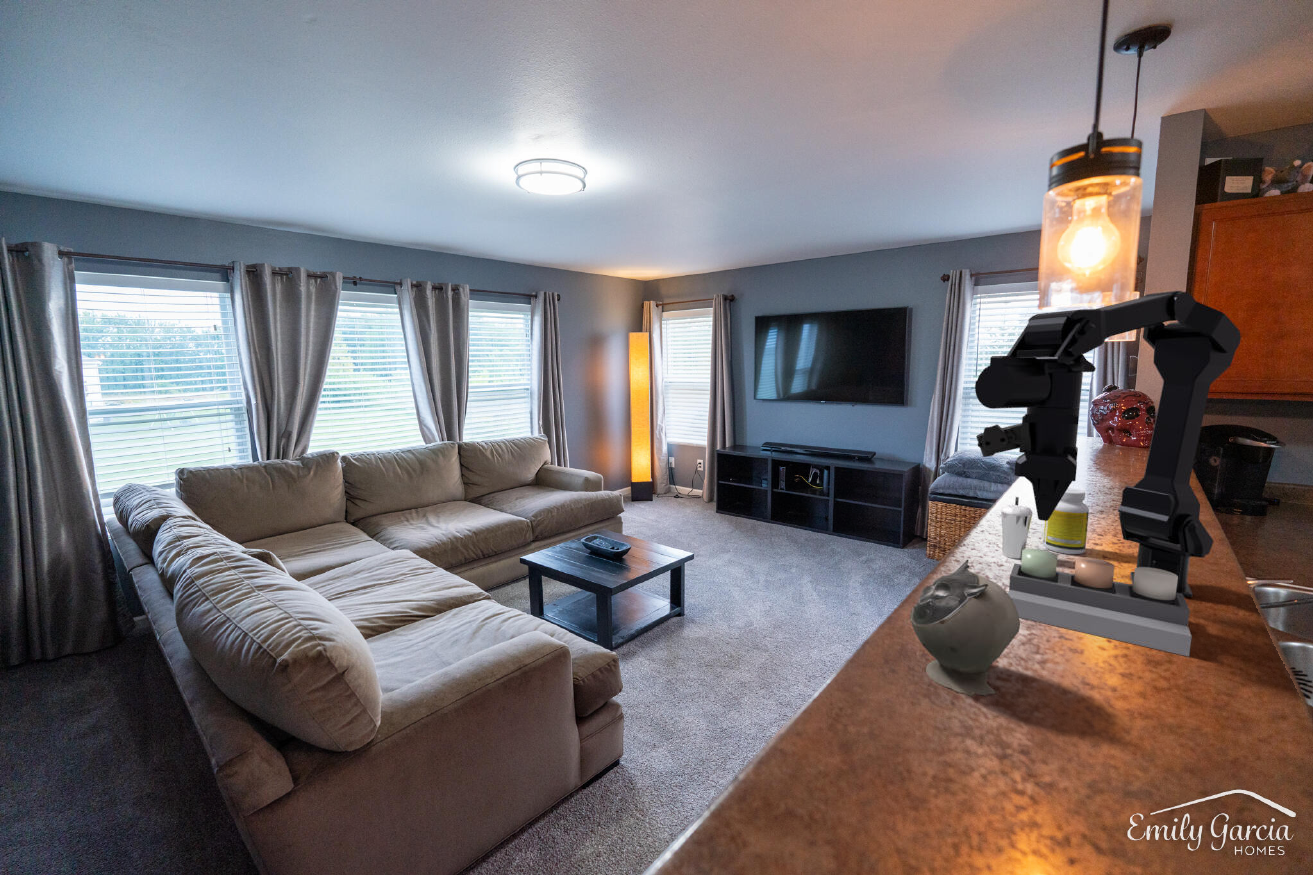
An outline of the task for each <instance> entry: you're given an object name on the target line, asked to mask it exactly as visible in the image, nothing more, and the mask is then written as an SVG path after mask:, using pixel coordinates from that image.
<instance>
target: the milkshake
mask: <svg viewBox="0 0 1313 875" xmlns="http://www.w3.org/2000/svg"><path fill="white" fill-rule="evenodd" d="M1019 501H1020V498H1019V496H1015V499H1014V503H1015V504H1014V505H1013V504H1012V505H1011V504H1007V505H1005V506H1004V507H1002V508H1001V510H1000V512H1001V529H1002V531H1001V532H1002V533H1001V534H1002V535H1001V537H1002V538H1001V539H1002V540H1001V541H1002V556H1004V557H1006V558H1009V559H1015V560H1017V559H1018V560H1022V550H1024V549H1027V548H1026V547H1027V542H1028V537H1029V535H1028V534H1029V531H1030V527H1031V522H1032V518H1033V510H1032V509H1031V507H1028V506H1023V505H1019Z"/></svg>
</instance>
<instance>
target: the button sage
mask: <svg viewBox="0 0 1313 875" xmlns="http://www.w3.org/2000/svg"><path fill="white" fill-rule="evenodd" d="M1020 564H1021V570H1022V571H1023V572H1024V573H1027V574H1030V575H1033V576H1038V577H1046V578H1049V577H1055V576H1056V571H1057V567H1058V555H1057V554H1056V553H1054V552H1053V551H1050V550H1045V549H1040V548H1025V549H1024V550H1022V559H1021V563H1020Z"/></svg>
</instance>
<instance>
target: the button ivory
mask: <svg viewBox="0 0 1313 875" xmlns="http://www.w3.org/2000/svg"><path fill="white" fill-rule="evenodd" d="M1134 572H1135V573H1134V582H1133V591H1134V592H1136V593H1138V594H1140V595H1143V596H1146V597H1150V598H1154V599H1160V600H1174V599H1175V597H1176V588H1177V580H1178V576H1177V575H1175V574H1174V573H1171V572H1168V571H1165V570H1161V569H1156V568H1149V567H1137V568H1136V567H1135V568H1134Z"/></svg>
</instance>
